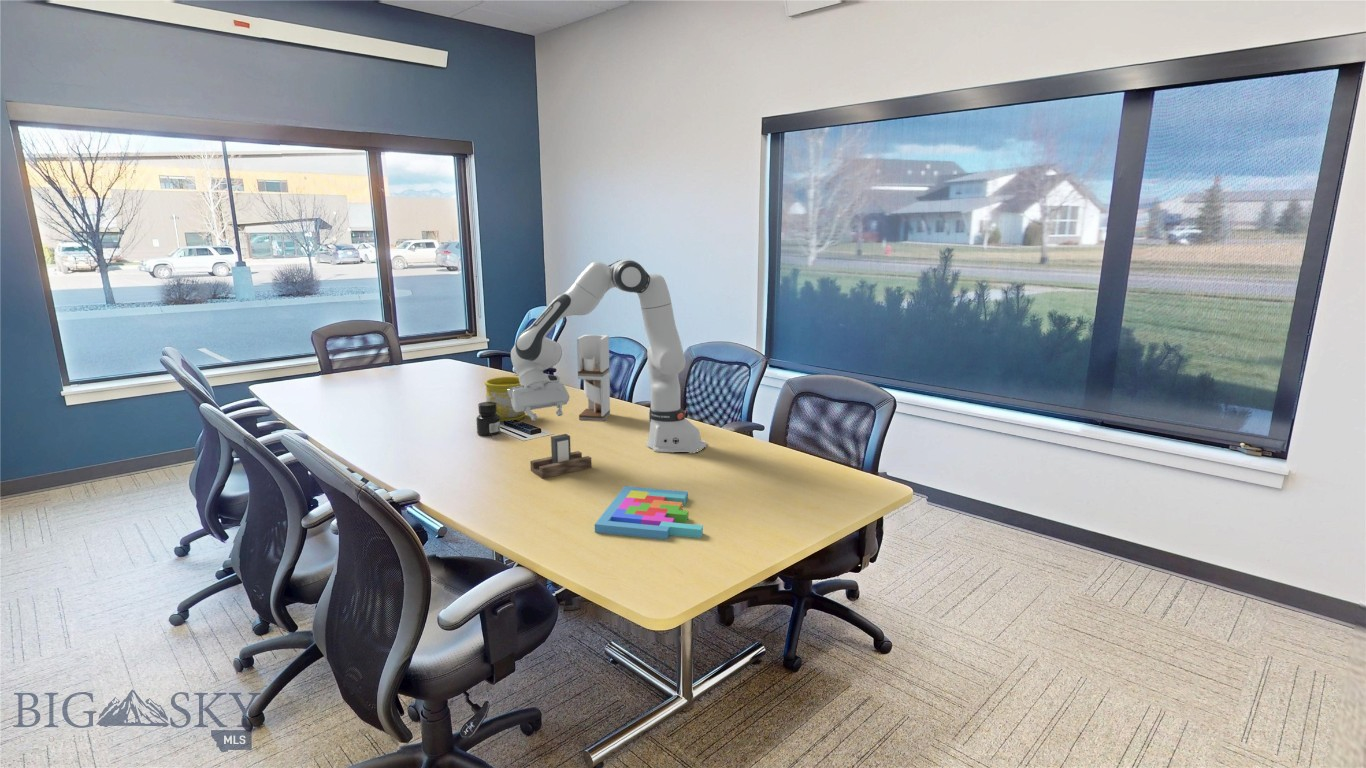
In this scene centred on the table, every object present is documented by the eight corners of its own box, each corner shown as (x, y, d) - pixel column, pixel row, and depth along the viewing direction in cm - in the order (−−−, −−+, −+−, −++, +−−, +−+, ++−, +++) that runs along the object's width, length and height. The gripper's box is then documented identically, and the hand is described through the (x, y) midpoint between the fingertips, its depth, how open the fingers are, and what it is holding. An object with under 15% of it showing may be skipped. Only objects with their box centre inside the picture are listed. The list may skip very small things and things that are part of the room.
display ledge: (578, 460, 230) (578, 450, 229) (591, 467, 223) (591, 457, 222) (530, 470, 220) (530, 460, 219) (542, 478, 213) (542, 468, 212)
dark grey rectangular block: (551, 465, 221) (550, 436, 218) (566, 462, 224) (565, 433, 222) (556, 467, 218) (555, 438, 216) (571, 464, 222) (570, 436, 219)
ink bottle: (496, 436, 257) (494, 406, 254) (473, 436, 257) (471, 406, 254) (503, 429, 266) (502, 400, 264) (481, 429, 266) (480, 400, 264)
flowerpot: (524, 424, 275) (522, 385, 271) (481, 423, 275) (478, 385, 271) (534, 412, 292) (532, 376, 289) (493, 412, 292) (491, 376, 289)
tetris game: (594, 534, 174) (699, 544, 169) (594, 524, 174) (699, 534, 168) (624, 494, 201) (715, 502, 196) (624, 486, 201) (715, 493, 195)
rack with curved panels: (586, 413, 292) (584, 334, 285) (610, 414, 291) (608, 335, 284) (579, 419, 281) (577, 338, 274) (603, 421, 280) (601, 339, 272)
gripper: (508, 382, 222) (521, 417, 217) (563, 375, 234) (577, 407, 229) (503, 393, 226) (516, 427, 221) (557, 385, 239) (571, 417, 233)
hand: (547, 417), depth 225 cm, fingers open, 8 cm apart
